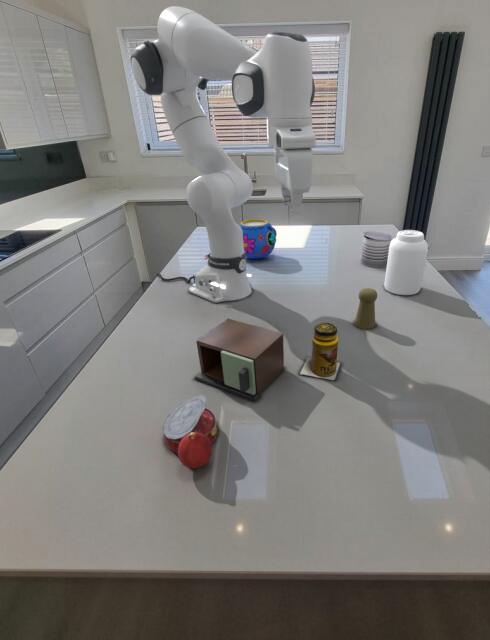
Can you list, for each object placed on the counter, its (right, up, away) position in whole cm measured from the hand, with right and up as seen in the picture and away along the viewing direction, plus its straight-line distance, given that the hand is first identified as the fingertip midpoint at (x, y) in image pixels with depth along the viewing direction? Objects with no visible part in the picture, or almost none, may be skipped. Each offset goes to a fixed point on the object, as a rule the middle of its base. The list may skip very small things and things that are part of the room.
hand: (291, 208), depth 81 cm
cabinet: (-12, -36, +10) cm, 39 cm away
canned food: (-20, -47, -8) cm, 52 cm away
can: (+36, +4, +75) cm, 83 cm away
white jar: (+40, -10, +52) cm, 66 cm away
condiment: (+7, -36, +11) cm, 38 cm away
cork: (+22, -24, +30) cm, 44 cm away
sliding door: (-12, -40, +2) cm, 42 cm away
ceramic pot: (-15, +8, +83) cm, 84 cm away
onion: (-17, -51, -14) cm, 56 cm away
